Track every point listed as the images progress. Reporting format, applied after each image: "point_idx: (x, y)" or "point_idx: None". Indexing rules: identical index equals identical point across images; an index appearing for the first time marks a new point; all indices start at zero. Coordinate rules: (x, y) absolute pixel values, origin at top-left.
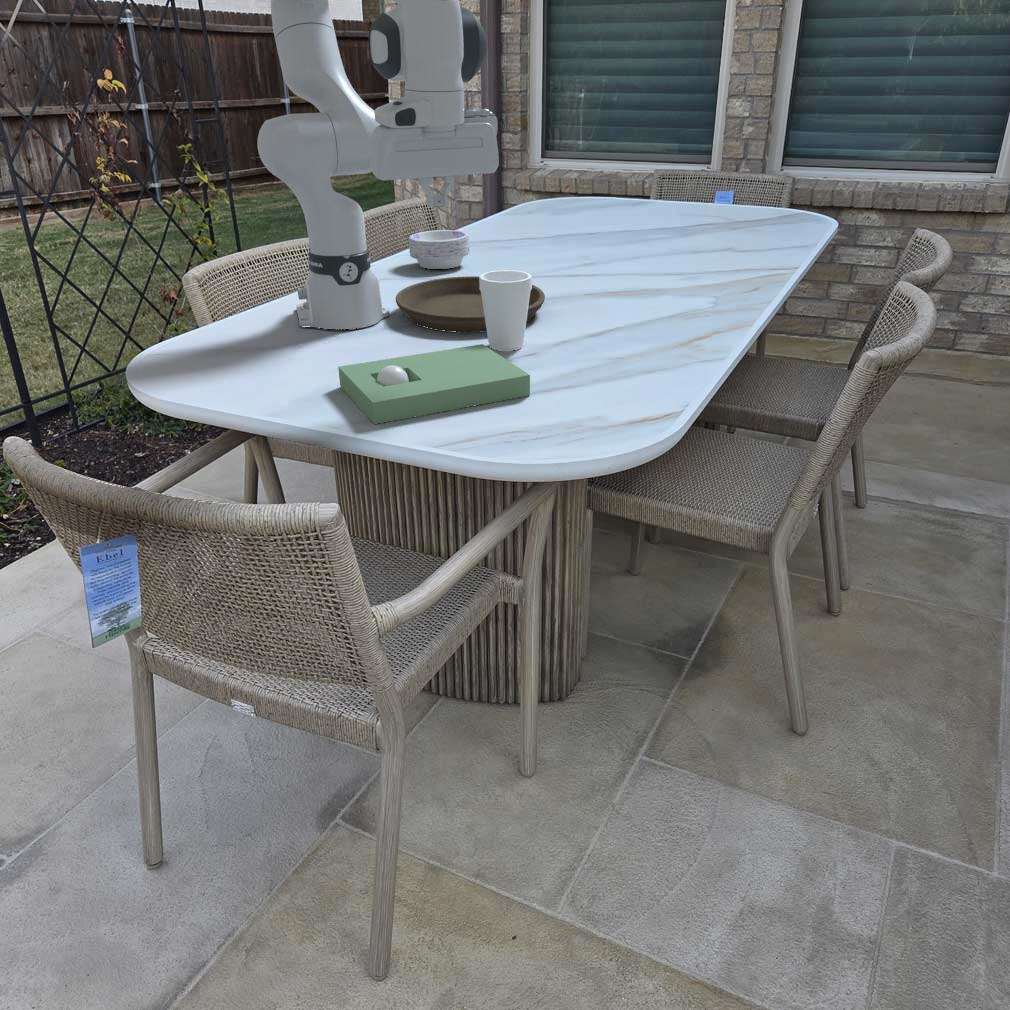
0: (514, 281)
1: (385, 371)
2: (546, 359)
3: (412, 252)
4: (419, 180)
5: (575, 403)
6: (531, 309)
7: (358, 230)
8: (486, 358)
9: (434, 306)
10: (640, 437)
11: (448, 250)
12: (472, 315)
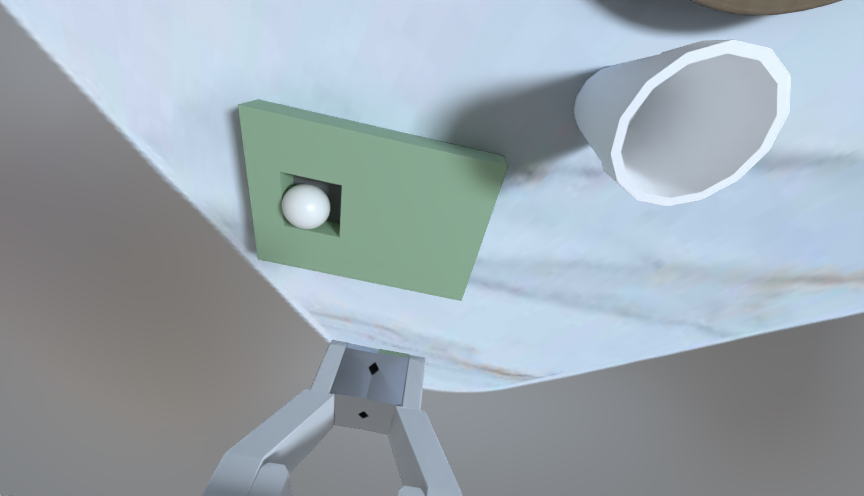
0: (649, 196)
1: (287, 217)
2: (587, 205)
3: None
4: (215, 479)
5: (482, 320)
6: (827, 4)
7: None
8: (461, 226)
9: None
10: (465, 383)
11: None
12: None
